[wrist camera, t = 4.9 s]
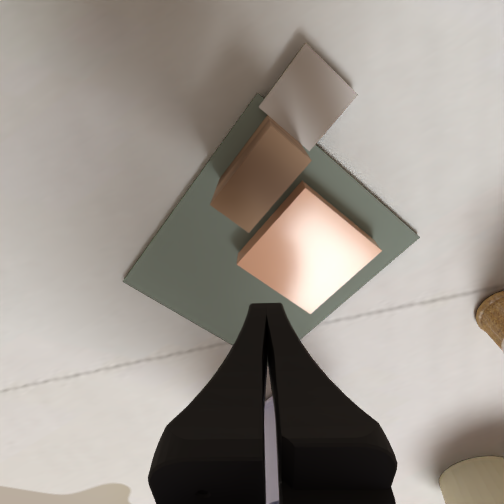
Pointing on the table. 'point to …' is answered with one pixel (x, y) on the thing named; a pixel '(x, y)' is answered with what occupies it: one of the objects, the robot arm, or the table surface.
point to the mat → (235, 238)
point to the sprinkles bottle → (493, 318)
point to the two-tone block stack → (282, 138)
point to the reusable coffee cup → (474, 481)
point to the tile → (307, 249)
